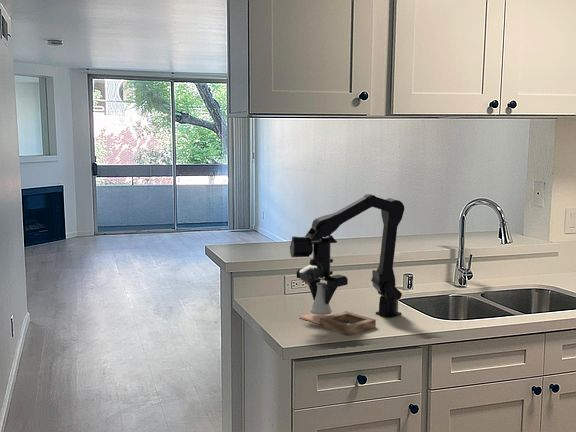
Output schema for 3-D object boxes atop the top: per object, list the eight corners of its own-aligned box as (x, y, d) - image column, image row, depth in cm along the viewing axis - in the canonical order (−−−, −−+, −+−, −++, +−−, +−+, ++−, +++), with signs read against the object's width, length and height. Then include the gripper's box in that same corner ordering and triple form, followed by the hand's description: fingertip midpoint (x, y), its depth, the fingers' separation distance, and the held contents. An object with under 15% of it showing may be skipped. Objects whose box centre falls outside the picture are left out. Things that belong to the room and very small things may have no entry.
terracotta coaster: (320, 312, 212) (320, 310, 212) (341, 318, 204) (341, 317, 204) (299, 317, 205) (299, 316, 205) (320, 324, 198) (320, 322, 198)
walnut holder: (346, 318, 205) (346, 311, 204) (375, 327, 196) (375, 319, 195) (319, 326, 196) (319, 318, 196) (349, 335, 187) (349, 327, 187)
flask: (330, 309, 208) (331, 280, 207) (332, 315, 201) (333, 286, 200) (309, 309, 208) (309, 280, 207) (310, 315, 201) (311, 286, 199)
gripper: (284, 255, 203) (284, 301, 205) (325, 264, 190) (324, 312, 192) (308, 251, 211) (308, 295, 213) (349, 259, 197) (348, 306, 199)
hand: (321, 302), depth 204 cm, fingers closed on flask, 5 cm apart
